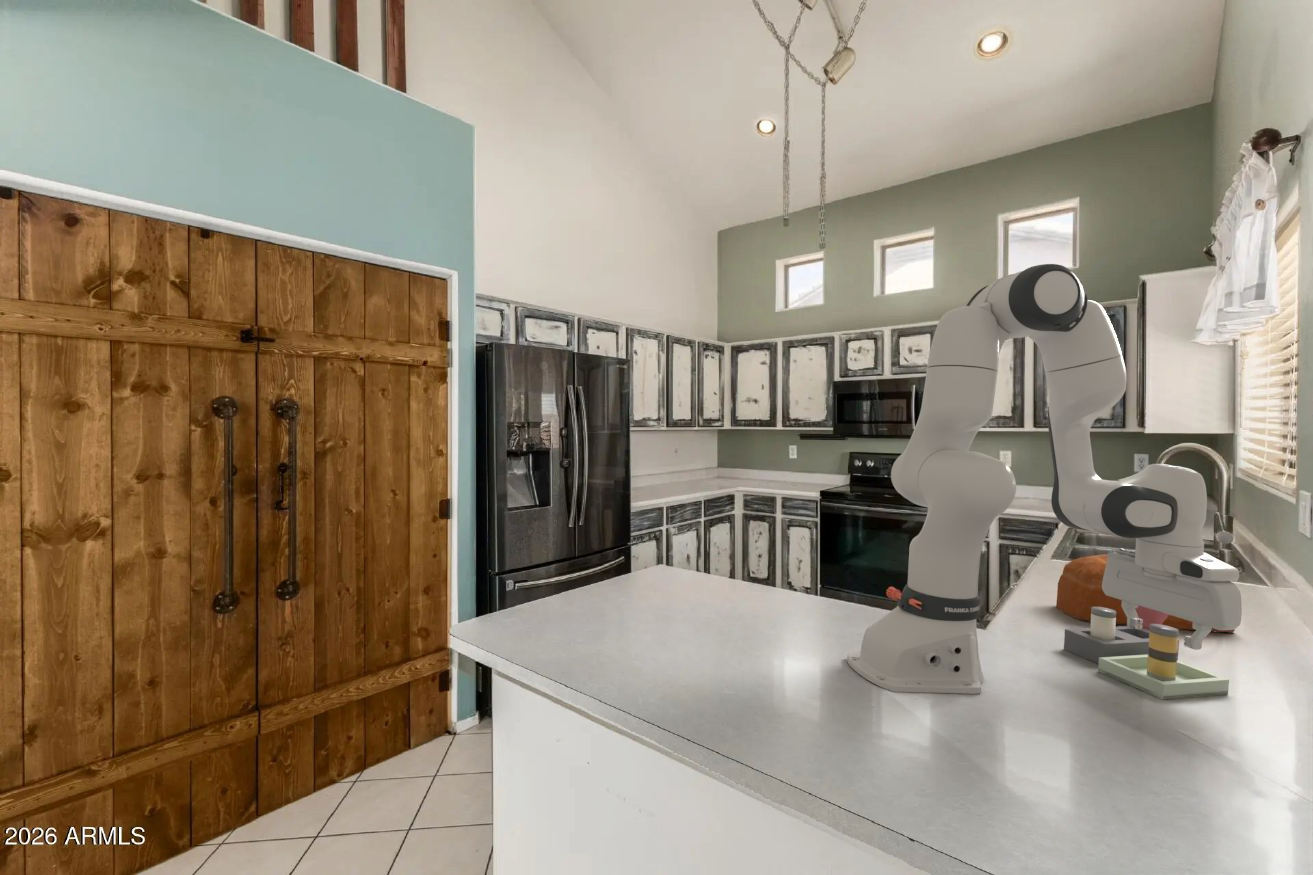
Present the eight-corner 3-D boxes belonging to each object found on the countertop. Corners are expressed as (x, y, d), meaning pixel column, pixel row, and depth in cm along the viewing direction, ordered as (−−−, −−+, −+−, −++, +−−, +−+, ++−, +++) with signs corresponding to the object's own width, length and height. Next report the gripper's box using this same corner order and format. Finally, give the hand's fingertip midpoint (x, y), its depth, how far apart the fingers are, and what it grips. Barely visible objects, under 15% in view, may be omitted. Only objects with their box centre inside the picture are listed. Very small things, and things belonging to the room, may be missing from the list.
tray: (1163, 699, 95) (1164, 684, 95) (1098, 671, 106) (1098, 657, 105) (1228, 694, 98) (1229, 679, 98) (1158, 666, 109) (1159, 653, 109)
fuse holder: (1102, 665, 108) (1104, 644, 108) (1063, 648, 116) (1064, 628, 116) (1177, 660, 112) (1179, 639, 112) (1135, 644, 120) (1136, 625, 120)
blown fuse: (1164, 684, 99) (1167, 632, 99) (1140, 674, 103) (1143, 624, 103) (1181, 683, 100) (1184, 631, 100) (1157, 673, 104) (1160, 623, 104)
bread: (1049, 605, 147) (1053, 543, 147) (1195, 616, 142) (1199, 553, 142) (1081, 623, 133) (1085, 555, 133) (1243, 636, 129) (1248, 566, 128)
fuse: (1102, 660, 111) (1105, 613, 111) (1084, 652, 115) (1086, 606, 114) (1118, 659, 112) (1121, 612, 112) (1100, 651, 115) (1102, 606, 115)
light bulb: (1179, 649, 119) (1183, 590, 118) (1139, 645, 120) (1143, 587, 120) (1157, 636, 126) (1160, 581, 125) (1119, 633, 127) (1122, 578, 127)
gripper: (1095, 545, 111) (1090, 617, 111) (1221, 573, 91) (1215, 661, 91) (1122, 545, 112) (1117, 617, 112) (1252, 573, 92) (1245, 660, 92)
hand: (1162, 637), depth 102 cm, fingers open, 8 cm apart
